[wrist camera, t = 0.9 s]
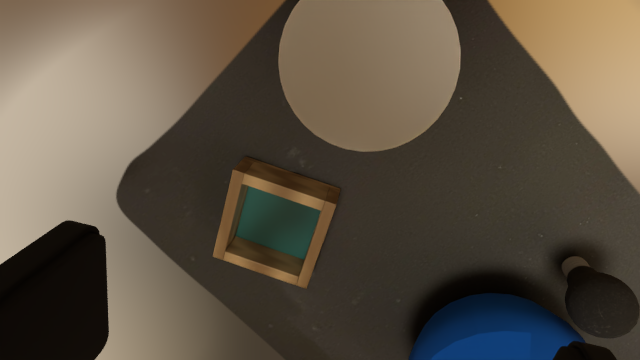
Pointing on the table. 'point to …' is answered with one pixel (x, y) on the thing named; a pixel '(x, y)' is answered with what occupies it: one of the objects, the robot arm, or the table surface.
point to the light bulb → (598, 300)
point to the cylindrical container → (369, 69)
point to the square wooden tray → (275, 221)
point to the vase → (493, 331)
